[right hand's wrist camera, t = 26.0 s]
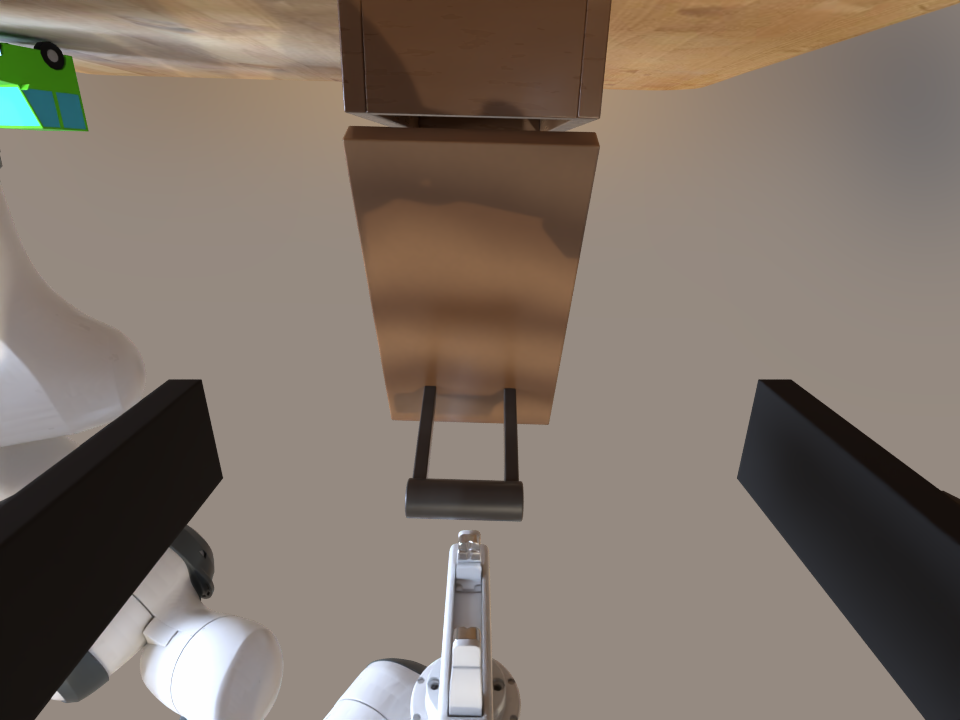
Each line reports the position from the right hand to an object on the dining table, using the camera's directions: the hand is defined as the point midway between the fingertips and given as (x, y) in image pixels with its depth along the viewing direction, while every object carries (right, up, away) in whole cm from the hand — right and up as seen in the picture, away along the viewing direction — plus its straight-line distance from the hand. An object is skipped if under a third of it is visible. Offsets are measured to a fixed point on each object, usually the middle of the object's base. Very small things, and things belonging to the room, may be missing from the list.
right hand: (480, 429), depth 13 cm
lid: (0, +5, +15) cm, 15 cm away
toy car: (-58, +40, +49) cm, 86 cm away
